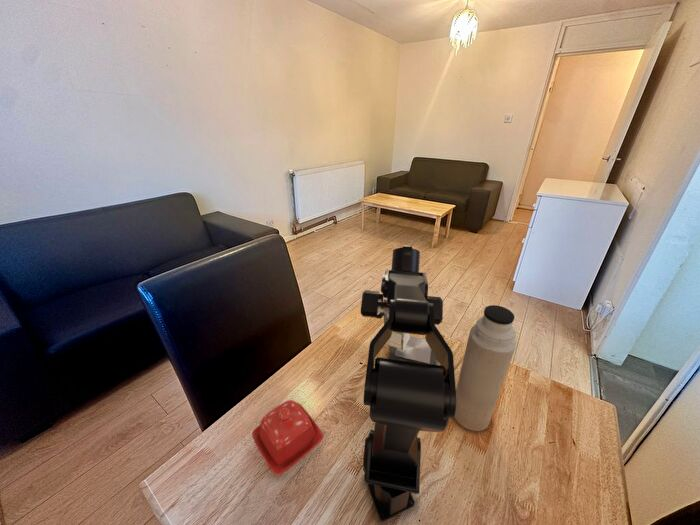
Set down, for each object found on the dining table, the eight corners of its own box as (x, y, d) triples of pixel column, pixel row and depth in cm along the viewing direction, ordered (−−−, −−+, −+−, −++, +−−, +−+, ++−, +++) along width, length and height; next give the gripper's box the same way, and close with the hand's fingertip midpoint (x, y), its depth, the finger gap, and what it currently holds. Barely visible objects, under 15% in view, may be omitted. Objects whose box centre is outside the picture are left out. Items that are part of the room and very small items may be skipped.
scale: (433, 380, 72) (435, 371, 70) (386, 368, 75) (387, 360, 74) (436, 347, 82) (437, 339, 80) (395, 338, 85) (395, 331, 84)
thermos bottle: (485, 401, 66) (517, 302, 54) (493, 434, 59) (532, 329, 47) (449, 395, 68) (472, 297, 55) (453, 427, 61) (480, 323, 48)
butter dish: (327, 441, 58) (325, 414, 54) (276, 483, 51) (270, 456, 48) (297, 403, 66) (294, 377, 62) (250, 435, 59) (242, 409, 55)
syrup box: (410, 338, 78) (413, 292, 72) (403, 351, 74) (405, 304, 68) (390, 332, 81) (392, 288, 75) (382, 345, 76) (383, 298, 70)
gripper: (448, 268, 61) (436, 286, 76) (363, 261, 64) (367, 280, 79) (447, 320, 58) (435, 328, 73) (357, 310, 61) (363, 320, 75)
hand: (399, 312), depth 75 cm, fingers closed on syrup box, 7 cm apart
